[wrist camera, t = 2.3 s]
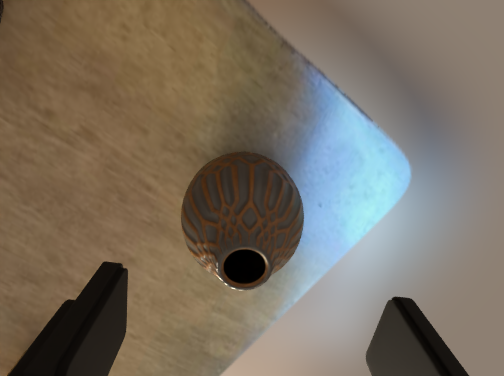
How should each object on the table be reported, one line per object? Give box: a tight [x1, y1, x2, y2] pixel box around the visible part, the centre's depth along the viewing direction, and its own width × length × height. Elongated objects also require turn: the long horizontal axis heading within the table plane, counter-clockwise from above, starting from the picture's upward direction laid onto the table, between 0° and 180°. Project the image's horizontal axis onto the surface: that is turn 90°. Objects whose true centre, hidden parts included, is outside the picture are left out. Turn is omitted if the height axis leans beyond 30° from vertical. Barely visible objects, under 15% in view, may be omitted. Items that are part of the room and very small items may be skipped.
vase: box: [181, 152, 304, 290], centre depth 17 cm, size 7×7×9 cm
